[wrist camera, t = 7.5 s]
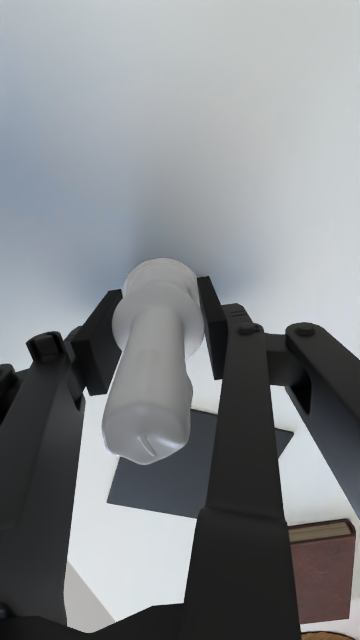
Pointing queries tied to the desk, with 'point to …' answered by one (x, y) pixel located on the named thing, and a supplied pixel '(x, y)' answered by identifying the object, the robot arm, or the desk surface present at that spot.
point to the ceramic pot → (323, 636)
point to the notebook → (323, 569)
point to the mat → (175, 473)
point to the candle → (153, 362)
